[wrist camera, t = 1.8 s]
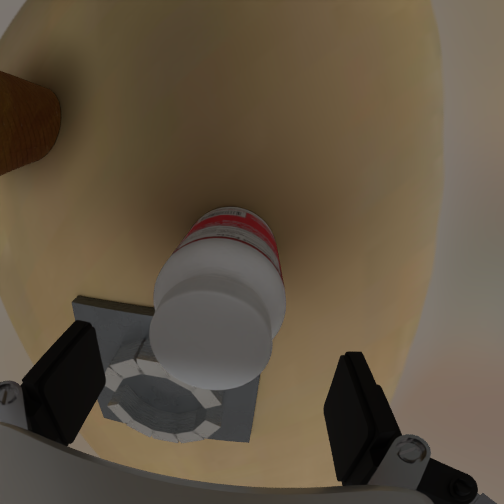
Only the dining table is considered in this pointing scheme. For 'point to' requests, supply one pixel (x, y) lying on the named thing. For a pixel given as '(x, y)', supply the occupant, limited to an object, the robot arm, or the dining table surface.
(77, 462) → the robot arm
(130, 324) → the socket plate
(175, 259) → the pill bottle
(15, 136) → the disposable coffee cup
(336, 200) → the dining table surface
